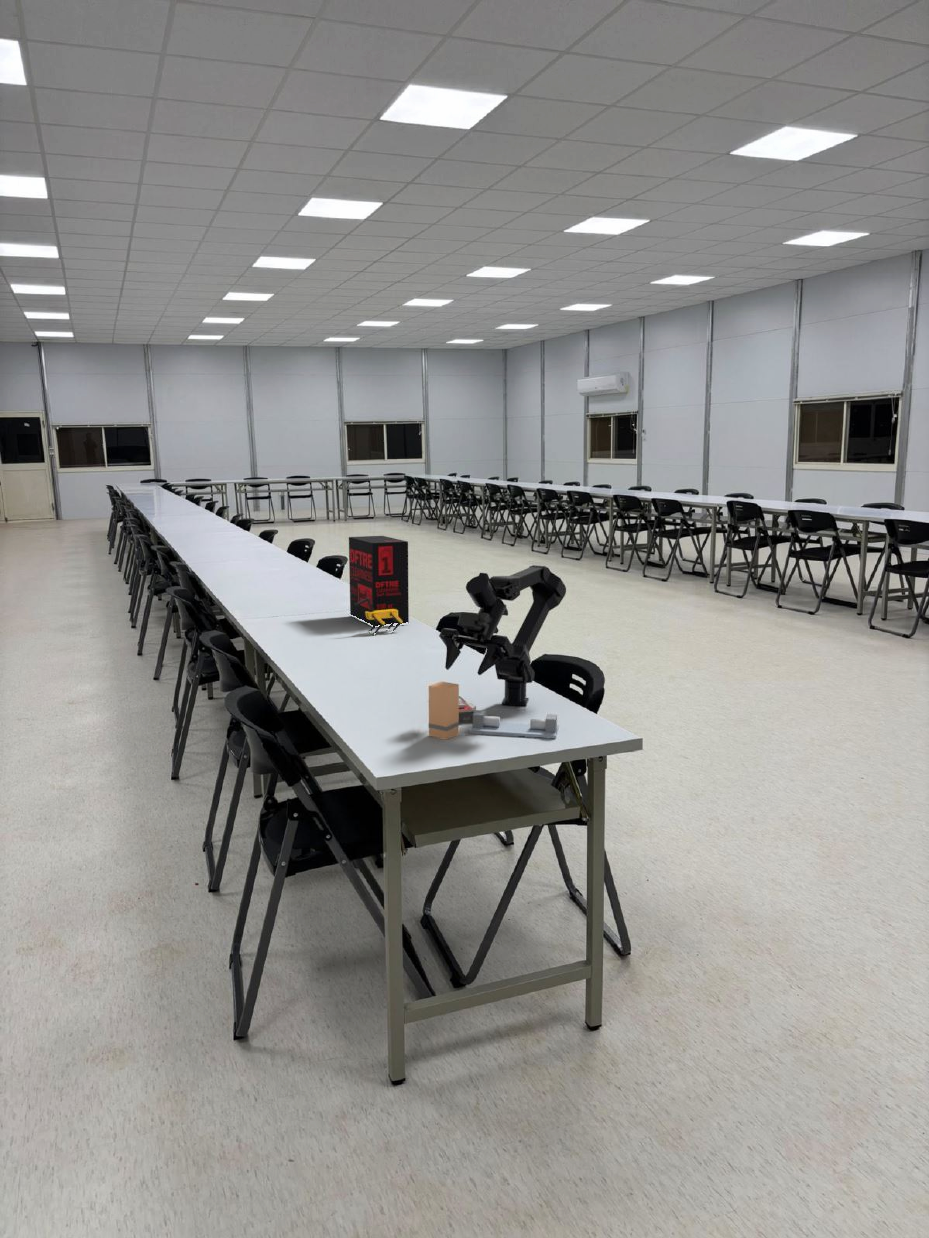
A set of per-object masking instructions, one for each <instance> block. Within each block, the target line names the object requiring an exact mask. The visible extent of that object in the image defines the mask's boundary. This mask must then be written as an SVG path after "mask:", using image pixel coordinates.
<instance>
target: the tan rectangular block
mask: <svg viewBox="0 0 929 1238" xmlns="http://www.w3.org/2000/svg"><path fill="white" fill-rule="evenodd" d="M459 685H460V684H457V683H453V682H446V681H438V682H435V683H433V684H430V685H428V736H429V737H434V738H438V739H443V740H449V739H450V738H452V737H455V736H457V735H459V731H460V730H459V726H460V723H459V696H460V695H459V693H460V687H459Z"/></svg>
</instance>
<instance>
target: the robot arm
mask: <svg viewBox="0 0 929 1238" xmlns="http://www.w3.org/2000/svg"><path fill="white" fill-rule="evenodd" d="M528 588H530V589H531V595H532V604H531V606H530V608H529V610H528V611H527V614H526V615H525V618H524V620H523V622H522V624H521V626H520V628H519V630H518V631H517V633H516V636H515V638H514V639H513V641H512V642H511V641H510V640H509V637H508V636H507V635H498V633H499V628H498V625H499V623H500V622H501V620H502V617H503V616H506V617H507V616H509V611H508V608H507V605H506V604H505V602H504V601H508V602H512V601H515V600H516V599H517V598H518V597H519V596H521V591H523V590H526V589H528ZM465 589H466V592H467V594H468V595H469V596H470V598H471V600H472V601H473V603H474V605H475V606H476V607H478V608H479V610H478V613H472V612H463V611H462V612H461V611H460V613H459V618H458V621H457V626H459V627H462V628H464V629H462V631H463V632H464V633H465V634H466V636H465V635H461V633H460V632H459V630H458V629H456V628H455V629H454V628H450V627H449V628H447V627H444V628H442V629H441V632H440V633H439V635H438V637H439V638H440V639H441V641H442V642H443V644H444V645H445V647H446V656H445V666H444V667H445V669H446V670H447V671H448V670H450V669H451V667H452V666H453V665H454V663H455V662H456V660H457V659H458V657H459V656H460V654H461V653H462V651H461V650H462V649H463V647H464V645H466V646H472V647H473V646H474V647H479V648H486V652H485V654H484V655H483V658H482V660H481V662H480V665H479V667H478V670H477V674H478V676H482V675H483V674H485V673H486V671H488V670H489V669H491V668H492V667H493V666H494V668H495V673H496V677H497V678H496V679H497V680H502V681H504V698H503V699H502V702H501V705H502V706H503V705H504V706H515V707H516V706H517V707H527V704H528V702H529V700H530V698H529V697H527V684H531V683H533V681H534V680H535V674H536V672H535V670H534V669H533V667H532V666H531V663H532V661H531V655H530V651H531V649H532V647H533V645H534V644H535V641H536V640H537V639H536V638H537V637H538V635H539V633H540V630H541V629H542V627H543V625H544V623H545V621H546V619H547V617H548V614H549V612H550V611H552V610H553V609H555V608H556V607H558V606H559V605H560V604H561V602H562V601H563V599H565V598H564V597H565V596H566V592H567V587H566V585H565V583H564V582H563V580H562V578H561V577H559V576H558V575H556V574H555V573H553V572H552V571H551V570H550V568H549V567H547V566H546V565H537V564H535V565H534V564H533V565H530V566H528V567H527V568H525V569H523V570H520V571H518V572H515V573H513V574H510V575H494V576H491V577H489V574H488V573H487V572H479V574H478V575H477V576H474V577H473V578H471V579H469V581H468V582H467V583H466V585H465Z"/></svg>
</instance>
